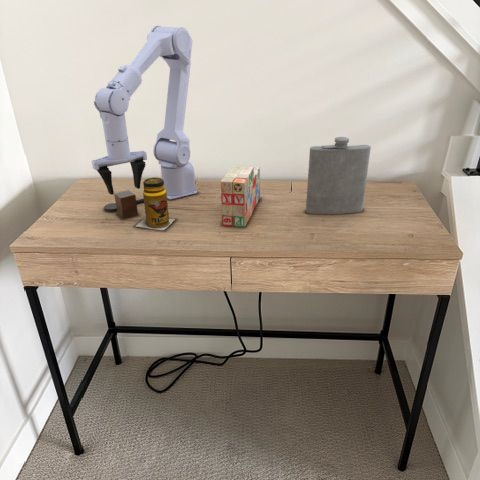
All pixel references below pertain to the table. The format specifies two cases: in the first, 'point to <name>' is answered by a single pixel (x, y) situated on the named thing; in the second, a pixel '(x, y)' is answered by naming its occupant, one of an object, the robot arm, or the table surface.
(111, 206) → the serving spoon
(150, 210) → the condiment
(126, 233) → the table surface
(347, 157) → the hip flask
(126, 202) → the walnut block
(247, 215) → the stack of blocks
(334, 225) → the table surface
